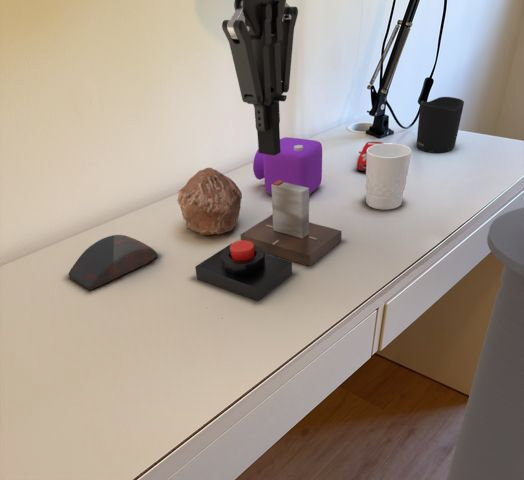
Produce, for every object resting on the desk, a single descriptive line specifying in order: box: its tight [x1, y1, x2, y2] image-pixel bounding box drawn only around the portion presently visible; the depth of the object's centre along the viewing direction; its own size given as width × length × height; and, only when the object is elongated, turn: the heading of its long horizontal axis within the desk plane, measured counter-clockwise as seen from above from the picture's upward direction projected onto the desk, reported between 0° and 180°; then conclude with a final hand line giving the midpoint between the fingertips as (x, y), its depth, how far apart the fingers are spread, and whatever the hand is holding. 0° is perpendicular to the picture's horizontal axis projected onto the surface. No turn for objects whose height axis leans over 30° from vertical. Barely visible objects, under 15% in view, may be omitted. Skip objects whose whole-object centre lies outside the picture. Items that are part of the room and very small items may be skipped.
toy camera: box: [252, 136, 323, 196], centre depth 106 cm, size 11×14×10 cm
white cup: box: [365, 142, 412, 211], centre depth 98 cm, size 8×8×10 cm
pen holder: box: [416, 96, 465, 154], centre depth 122 cm, size 9×9×10 cm
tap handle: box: [271, 180, 310, 239], centre depth 86 cm, size 6×2×8 cm, turn 53°
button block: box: [194, 243, 293, 302], centre depth 81 cm, size 12×9×4 cm
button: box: [230, 239, 255, 261], centre depth 80 cm, size 4×4×2 cm
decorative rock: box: [177, 167, 243, 236], centre depth 94 cm, size 13×11×10 cm
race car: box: [356, 141, 384, 172], centre depth 117 cm, size 13×5×4 cm, turn 162°
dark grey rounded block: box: [67, 234, 158, 291], centre depth 85 cm, size 8×14×4 cm, turn 136°
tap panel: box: [240, 213, 343, 267], centre depth 90 cm, size 14×10×2 cm
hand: (269, 152), depth 74 cm, fingers closed
